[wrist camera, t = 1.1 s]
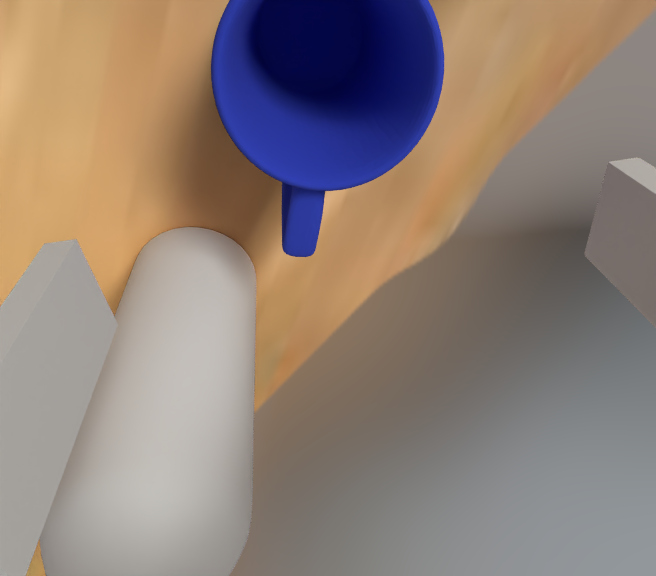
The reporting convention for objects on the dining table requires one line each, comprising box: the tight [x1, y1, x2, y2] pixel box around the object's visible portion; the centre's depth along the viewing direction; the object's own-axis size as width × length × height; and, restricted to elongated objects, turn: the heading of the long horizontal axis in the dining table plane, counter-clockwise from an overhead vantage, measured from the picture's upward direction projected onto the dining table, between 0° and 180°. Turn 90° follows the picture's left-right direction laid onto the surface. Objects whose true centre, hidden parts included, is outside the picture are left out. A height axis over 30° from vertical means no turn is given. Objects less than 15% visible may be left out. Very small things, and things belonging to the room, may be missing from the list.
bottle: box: [40, 227, 256, 576], centre depth 21 cm, size 8×8×30 cm
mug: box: [211, 0, 444, 257], centre depth 22 cm, size 8×12×10 cm
